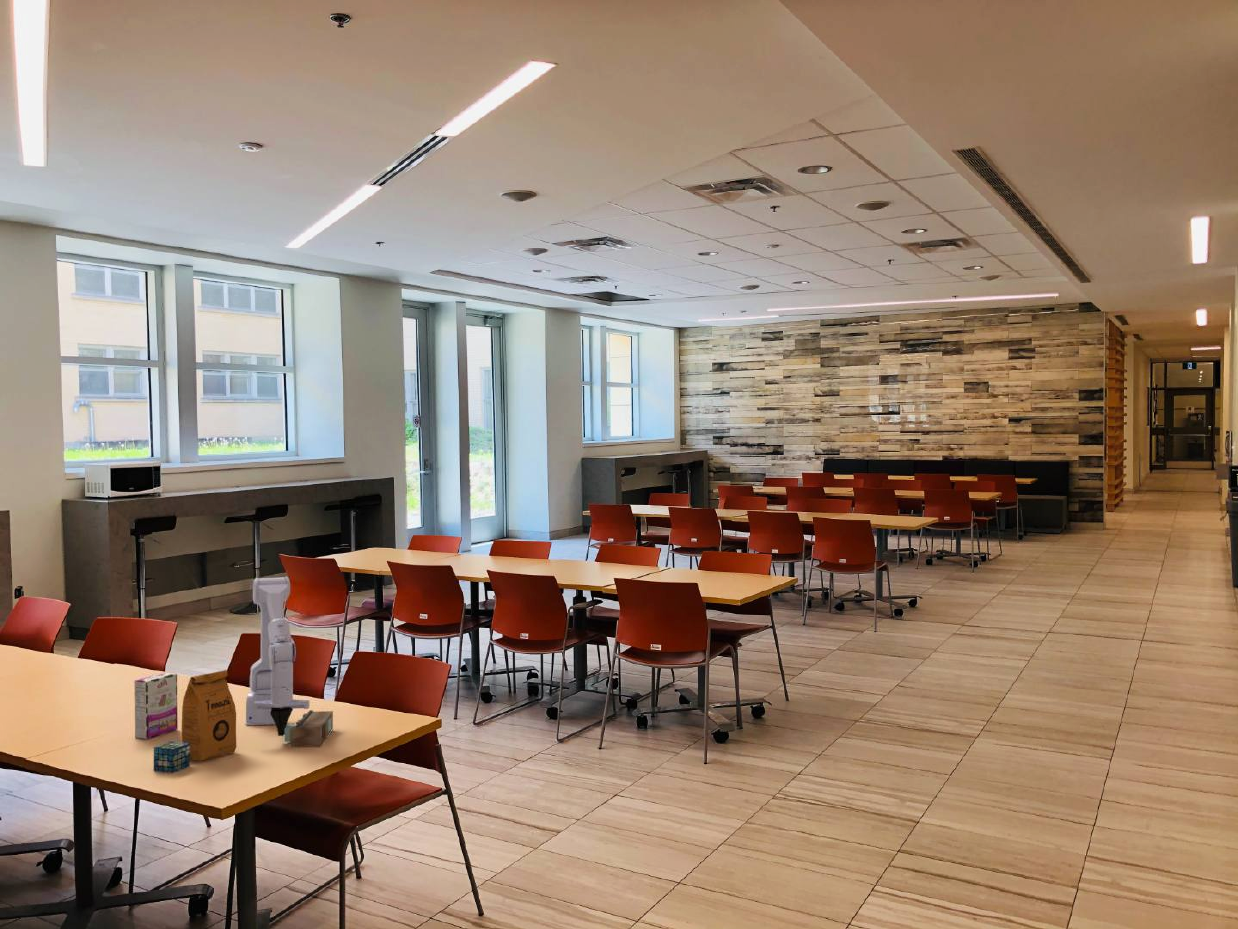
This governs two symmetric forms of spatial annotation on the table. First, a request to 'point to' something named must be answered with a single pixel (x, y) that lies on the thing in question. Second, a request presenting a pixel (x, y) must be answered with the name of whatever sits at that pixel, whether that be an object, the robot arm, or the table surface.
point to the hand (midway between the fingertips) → (281, 735)
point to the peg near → (288, 732)
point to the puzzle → (171, 757)
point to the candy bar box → (155, 705)
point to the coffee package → (209, 717)
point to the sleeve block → (311, 729)
